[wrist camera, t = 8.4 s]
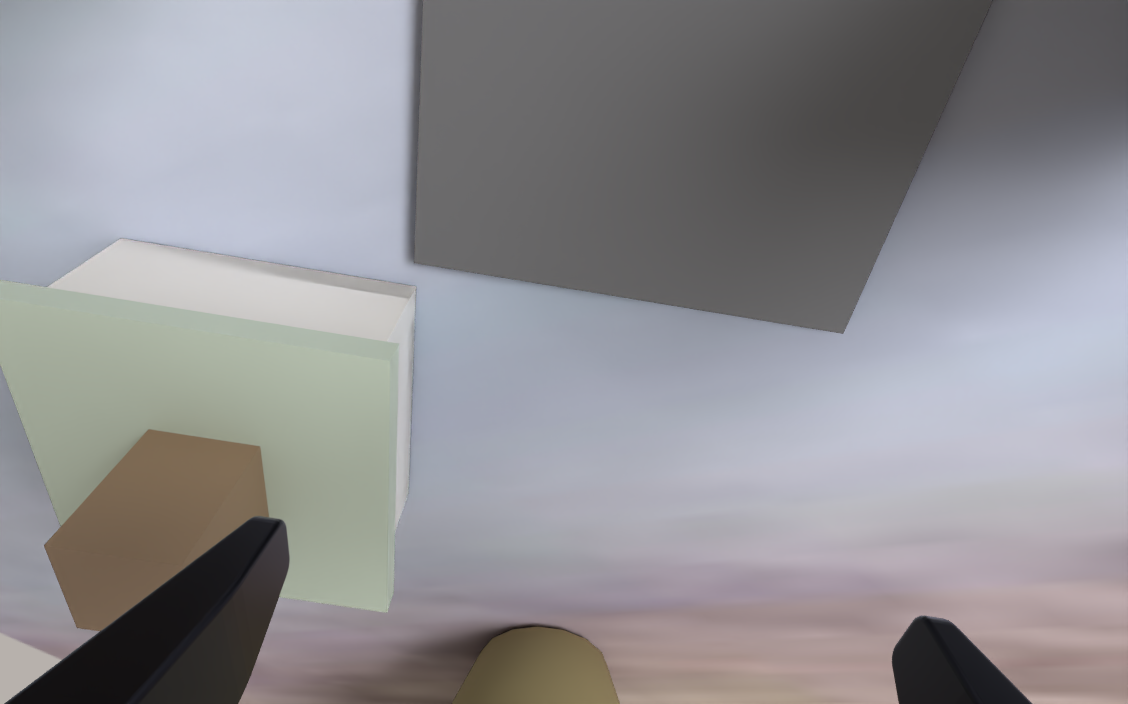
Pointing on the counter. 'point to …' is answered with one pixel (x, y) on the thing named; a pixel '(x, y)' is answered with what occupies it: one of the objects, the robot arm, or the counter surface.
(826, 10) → the mat
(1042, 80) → the counter surface
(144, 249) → the white box
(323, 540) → the lid
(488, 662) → the squeeze bottle
